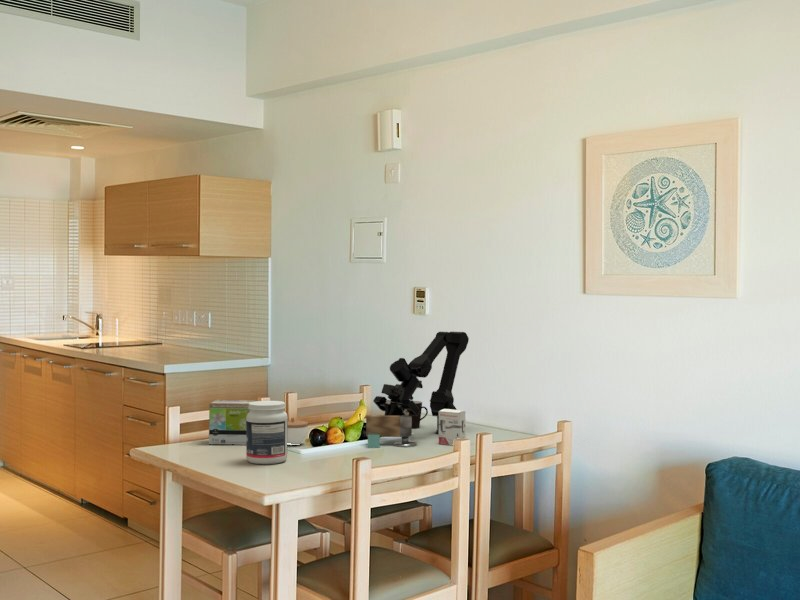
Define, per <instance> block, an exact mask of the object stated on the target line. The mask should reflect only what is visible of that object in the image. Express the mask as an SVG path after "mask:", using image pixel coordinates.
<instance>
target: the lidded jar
mask: <svg viewBox="0 0 800 600" xmlns="http://www.w3.org/2000/svg"><path fill="white" fill-rule="evenodd" d="M308 426H309V422H308V421H305V420H298V419H297V420H296V419H295V418H294V417H291V419H290V420H288V430H287V441H288V442H287V443H291V444H301V443H302V444H303V443H304V442H305V440H306V438H307V436H308V431H309V430H308V428H309V427H308ZM302 444H301V445H302Z"/></svg>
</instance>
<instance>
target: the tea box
mask: <svg viewBox="0 0 800 600" xmlns="http://www.w3.org/2000/svg"><path fill="white" fill-rule="evenodd" d="M255 401H256V400H255V399H254V400H252V399H251V400H248V399H247V400H246V399H214V400H213V401H212V402H210V403H209V405H208V406H209V409H208V411H209V417H208V444H211V445H232V444H234V445H237V446H238V445H239V446H246V416H247V414H248V413H249V412H250V410H249V409H248V407H249V403H250V402H255Z"/></svg>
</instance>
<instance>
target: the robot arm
mask: <svg viewBox="0 0 800 600" xmlns="http://www.w3.org/2000/svg"><path fill="white" fill-rule="evenodd" d="M469 339H470V338H469V336H468V334H467V333H466V332H465V331H438V332H436V334H435V337H434V338H433V339H432V340H431V342H430V343H429V345H428V346H427V347H426V348H425V349H424V351H423V352H422V353H421V354H420V355H419V356H417V357H415V358H413V359H412V360H411V361H410V362H409V363H408V362H407V361H406V359H405V357H399V359H397V360H395V361H393V363H391V364H390V365H389V371H390V372H391V374H392V375H393V376H394V377H395V379H396V380H397V381H398V382H399V383H400V382H401V383H400V384H399V383H396V384H395V385H394V384H393V385H392V384H389V383H388V384H386V383H384V384H383V386H382V389H381V392H380V393H381V394H383V395H386V396H387V398H386V396H382V395H381V396H380V395H376V396H375V397H374V399H373V402H374V404H375V405H376V406H377V408H378V409H379V410H380V411H381V412H384V415H394V416H402V415H405V414H404V413H405V411H407V410H411V412H410V414H411V415H413V416H417V415H418V413H419V408H418V406H417V405H416V404H415V403H414V401H415V400H413V399H414V397H413V395H414V393H415V392H416V390H417V389H423V387H424V386H423V383H422V380H419V378H423V379H424V378H427V377H428V376H429V374H430V372H431V371H432V370H433V362H434V361H435V360H436V358H437V357H438V356H439V355H440V353H441V352H442V351H443V350H444V348H445V349H446V357H445V362H444V365H443V370H442V374H441V377H440V381H439V387H438V389H436V390H435V391H434V390H433V391H432V392H431V396H430V399H429V408H430V413H431V415H432V417H436V425H437V427H436V431H435V434H437V435H439V411H440V410H442V409H454V410H458V409H457V407H456V406H455V404H454V403H455V398H454V395H453V387H454V382H455V378H456V375H457V370H458V365H459V361H460V357H461V355H462V354H463V353H464V352H465V351H466V349H467V346H468V344H469V342H470V341H469Z"/></svg>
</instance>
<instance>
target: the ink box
mask: <svg viewBox="0 0 800 600" xmlns="http://www.w3.org/2000/svg"><path fill="white" fill-rule="evenodd" d="M457 438H466V410H463V409H457V410H454V409H442V410H440V411H439V434H438V444H439V445H447V446H453V445H452V444H453V440H454V439H457Z"/></svg>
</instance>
